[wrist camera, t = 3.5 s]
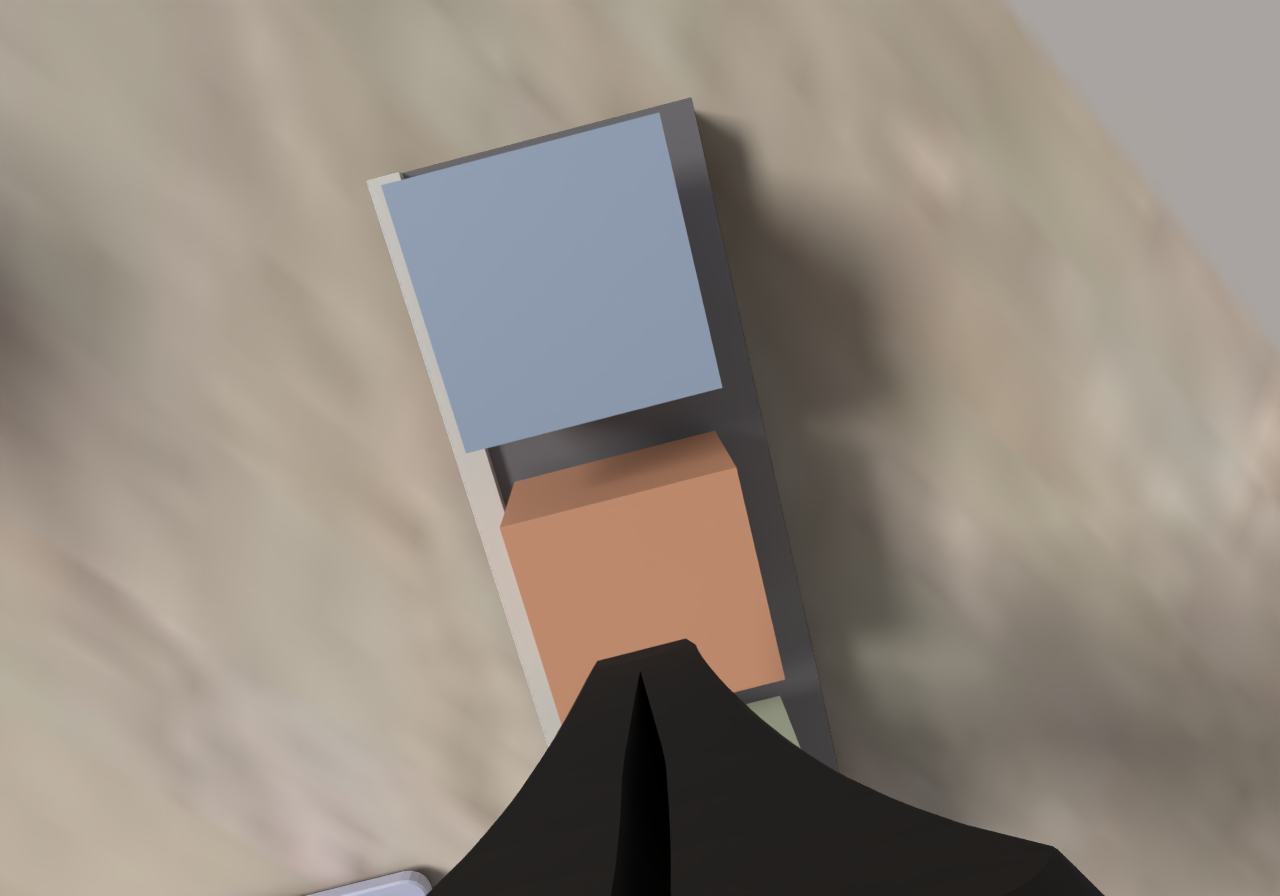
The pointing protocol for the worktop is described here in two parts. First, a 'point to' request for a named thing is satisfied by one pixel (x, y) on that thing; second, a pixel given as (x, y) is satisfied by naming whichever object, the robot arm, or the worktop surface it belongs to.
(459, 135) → the worktop surface
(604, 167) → the light blue square block
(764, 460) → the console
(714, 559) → the terracotta key
